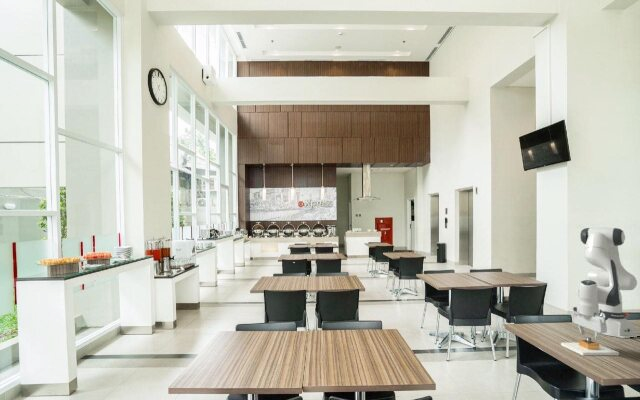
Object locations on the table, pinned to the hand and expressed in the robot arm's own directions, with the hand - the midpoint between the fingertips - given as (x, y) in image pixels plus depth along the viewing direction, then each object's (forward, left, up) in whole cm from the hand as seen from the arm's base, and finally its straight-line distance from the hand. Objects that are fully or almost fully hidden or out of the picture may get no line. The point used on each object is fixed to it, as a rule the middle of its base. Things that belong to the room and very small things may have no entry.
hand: (589, 336), depth 208 cm
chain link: (0, 0, -6) cm, 6 cm away
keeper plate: (0, 0, -7) cm, 7 cm away
